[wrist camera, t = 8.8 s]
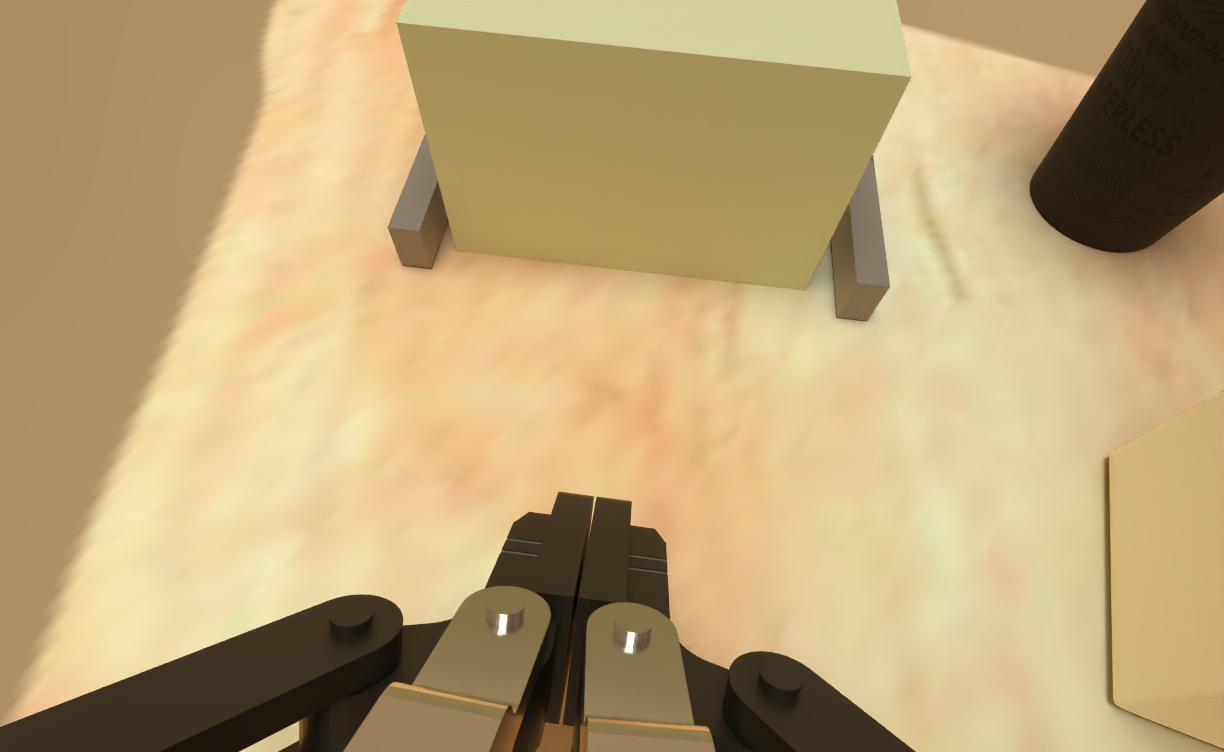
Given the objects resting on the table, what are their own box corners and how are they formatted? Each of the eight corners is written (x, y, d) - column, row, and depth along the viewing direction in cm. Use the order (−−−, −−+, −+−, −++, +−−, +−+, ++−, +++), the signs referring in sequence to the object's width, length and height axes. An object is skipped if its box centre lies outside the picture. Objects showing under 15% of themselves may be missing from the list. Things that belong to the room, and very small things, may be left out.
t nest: (842, 82, 27) (858, 42, 26) (866, 320, 21) (889, 286, 19) (484, 43, 28) (478, 1, 26) (402, 264, 21) (387, 227, 20)
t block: (795, 100, 26) (871, -126, 19) (805, 290, 21) (911, 76, 14) (511, 70, 27) (486, -165, 20) (456, 250, 22) (396, 22, 15)
